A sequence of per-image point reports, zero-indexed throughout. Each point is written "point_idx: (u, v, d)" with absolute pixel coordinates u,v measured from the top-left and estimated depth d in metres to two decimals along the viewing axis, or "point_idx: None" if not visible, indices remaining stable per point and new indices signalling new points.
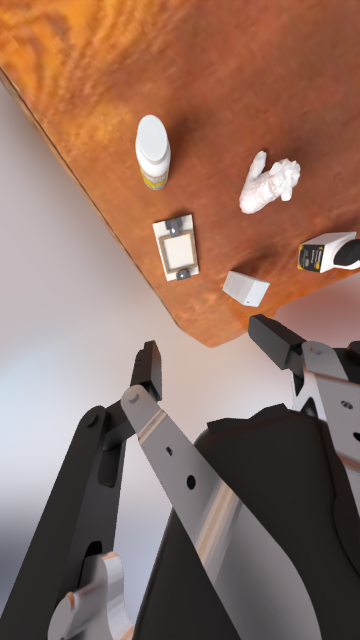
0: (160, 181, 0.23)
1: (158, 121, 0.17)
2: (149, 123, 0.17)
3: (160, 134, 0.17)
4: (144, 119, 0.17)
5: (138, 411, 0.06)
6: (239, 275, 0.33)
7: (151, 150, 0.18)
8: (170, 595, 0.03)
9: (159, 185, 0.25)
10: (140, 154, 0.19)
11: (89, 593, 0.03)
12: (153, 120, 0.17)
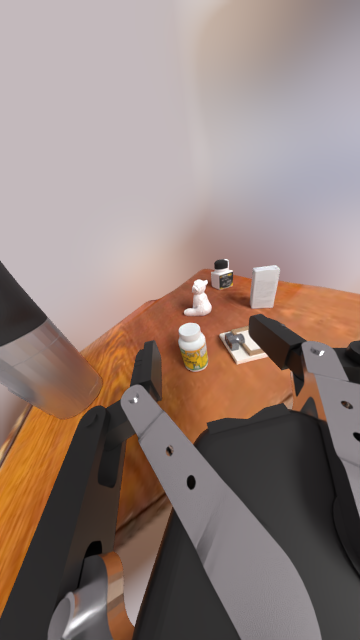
0: None
1: (181, 326, 0.25)
2: (182, 330, 0.24)
3: (186, 325, 0.25)
4: (180, 332, 0.24)
5: (138, 411, 0.06)
6: (254, 291, 0.39)
7: (194, 329, 0.24)
8: (170, 595, 0.03)
9: None
10: (194, 343, 0.23)
11: (89, 593, 0.03)
12: (181, 328, 0.25)
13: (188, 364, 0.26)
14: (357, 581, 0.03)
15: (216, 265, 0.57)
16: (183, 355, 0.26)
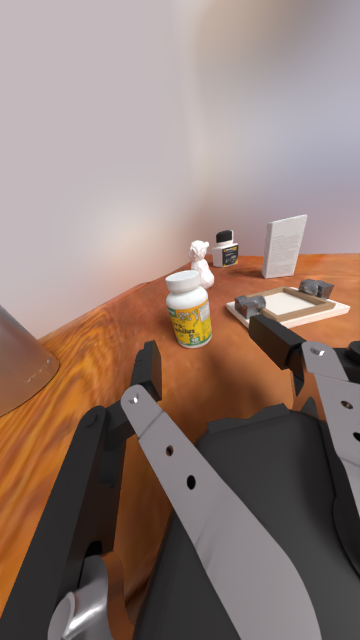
0: None
1: (170, 275, 0.16)
2: (171, 277, 0.15)
3: (178, 273, 0.16)
4: (168, 279, 0.15)
5: (138, 411, 0.06)
6: (269, 253, 0.30)
7: (190, 273, 0.15)
8: (170, 595, 0.03)
9: None
10: (190, 297, 0.14)
11: (89, 593, 0.03)
12: (169, 276, 0.16)
13: (181, 336, 0.17)
14: (357, 581, 0.03)
15: (218, 237, 0.48)
16: (174, 321, 0.17)
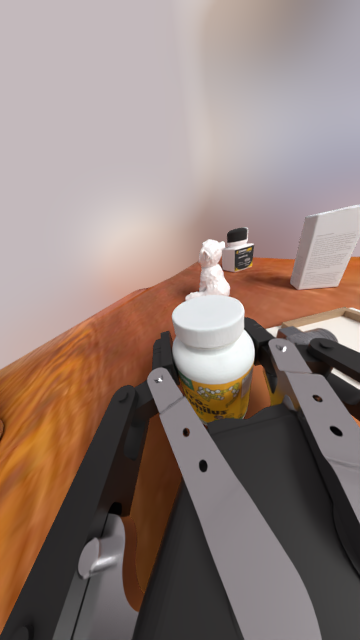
0: None
1: (180, 305, 0.08)
2: (183, 314, 0.07)
3: (197, 302, 0.08)
4: (178, 320, 0.07)
5: (165, 388, 0.06)
6: (308, 258, 0.22)
7: (225, 308, 0.07)
8: (170, 595, 0.03)
9: None
10: (227, 359, 0.07)
11: (110, 545, 0.04)
12: (179, 310, 0.08)
13: (199, 412, 0.09)
14: None
15: (230, 236, 0.40)
16: (186, 389, 0.09)
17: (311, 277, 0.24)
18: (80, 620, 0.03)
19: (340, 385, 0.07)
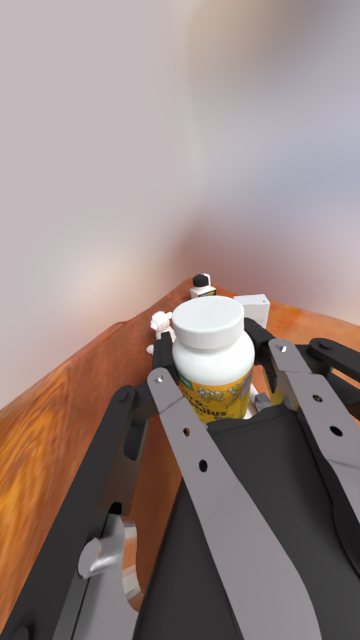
0: None
1: (180, 306, 0.08)
2: (183, 315, 0.07)
3: (196, 302, 0.08)
4: (177, 321, 0.07)
5: (165, 388, 0.06)
6: None
7: (225, 309, 0.07)
8: (170, 595, 0.03)
9: None
10: (226, 361, 0.07)
11: (110, 545, 0.04)
12: (179, 311, 0.08)
13: (199, 413, 0.09)
14: None
15: (194, 282, 0.45)
16: (186, 390, 0.09)
17: None
18: (80, 620, 0.03)
19: (340, 385, 0.07)
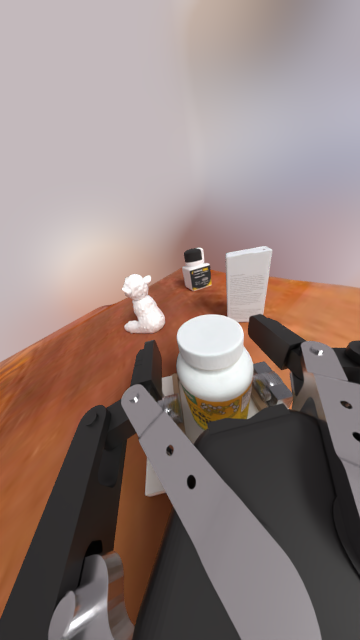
0: None
1: (184, 325, 0.09)
2: (187, 336, 0.08)
3: (199, 322, 0.09)
4: (183, 342, 0.07)
5: (138, 411, 0.06)
6: (228, 294, 0.22)
7: (226, 331, 0.08)
8: (170, 595, 0.03)
9: None
10: (228, 379, 0.07)
11: (89, 592, 0.03)
12: (183, 330, 0.08)
13: (202, 423, 0.10)
14: (357, 582, 0.03)
15: (185, 256, 0.40)
16: (190, 403, 0.09)
17: (236, 312, 0.24)
18: None
19: None
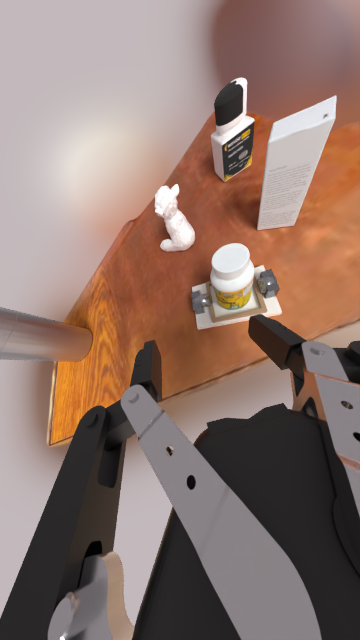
0: None
1: (215, 253, 0.15)
2: (217, 261, 0.15)
3: (225, 250, 0.15)
4: (215, 266, 0.15)
5: (138, 411, 0.06)
6: (263, 197, 0.21)
7: (239, 257, 0.14)
8: (170, 595, 0.03)
9: None
10: (236, 282, 0.15)
11: (89, 593, 0.03)
12: (215, 258, 0.15)
13: (223, 304, 0.21)
14: (357, 581, 0.03)
15: (217, 112, 0.27)
16: (217, 295, 0.19)
17: (267, 218, 0.23)
18: None
19: None
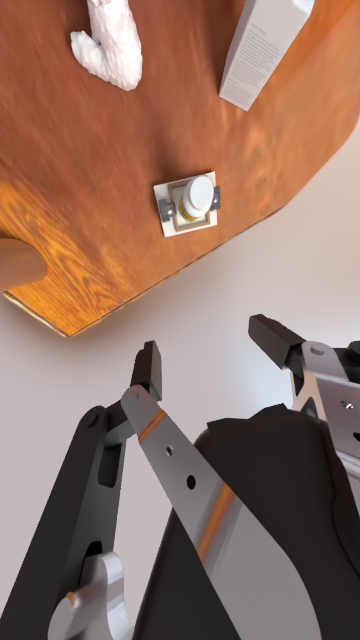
0: None
1: (193, 185, 0.20)
2: (194, 195, 0.21)
3: (199, 183, 0.20)
4: (192, 200, 0.21)
5: (138, 411, 0.06)
6: (236, 56, 0.18)
7: (208, 195, 0.21)
8: (170, 595, 0.03)
9: None
10: (201, 211, 0.24)
11: (89, 593, 0.03)
12: (192, 190, 0.21)
13: (185, 218, 0.28)
14: (357, 581, 0.03)
15: None
16: (184, 213, 0.26)
17: (232, 88, 0.21)
18: None
19: None
